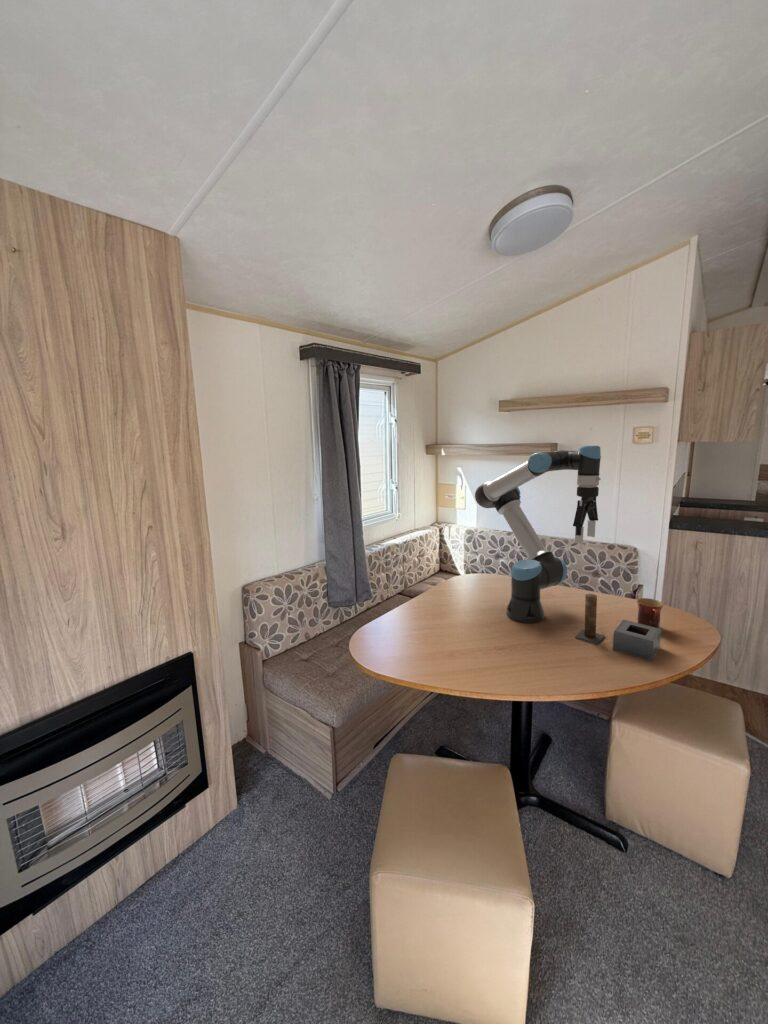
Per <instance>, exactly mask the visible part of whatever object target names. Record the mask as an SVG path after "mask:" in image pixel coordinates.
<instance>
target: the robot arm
mask: <svg viewBox="0 0 768 1024" xmlns="http://www.w3.org/2000/svg"><path fill="white" fill-rule="evenodd" d="M601 451H602V450H601V447H600V445H593V444H592V445H580V446H579V448H578V450H563V449H559V450H555V451H545V452H544V451H539V452H535V453H533V454H531V455H530V456H529V458H528V460H527V461H524V462H523V463H521V464H520V465H518V466H517V467H515V468H513V469H511V470H509V471H508V472H506V473H504V474H503V475H501V476H499V477H497V478H496V479H494V480H492V481H491V480H488V481H485V482H484V483H482V484H481V485H479V486H478V487H477V488H476V490H475V491H474V492H475V493H474V498H475V502H476V503H477V504H478V505H479V506H480V507H481V508H484V509H495V510H496V511H497V513H498V515H503V517H504V519H505V521H506V522H507V524H508V525H509V528H510V529H511V531H512V533H513V535H514V536H515V538H516V540H517V542H518V543H519V544H520V547H521V549H522V550H523V552H524V553H525V555H526V557H527V559H520V560H518V561H516V562H514V563H513V565H512V567H511V573H510V575H511V585H510V586H511V590H510V592H511V596H510V599H509V602H508V604H507V607H506V616H507V617H508V618H510V619H511V620H513V621H516V622H519V623H526V624H527V623H528V624H534V623H539V622H541V621H544V618H545V611H544V608H543V604H542V602H541V601H542V600H541V590H543V589H547V588H551V587H554V586H557V585H559V584H561V583H563V582H564V581H565V580H566V578H567V575H568V568H567V564H566V562H565V561H564V560H563V559H562V558H559V557H558V556H555V555H554V554H553V552H552V551H551V550H548V549H546V547H545V546H544V544H543V542H542V540H541V539H540V537H539V536H538V533H537V532H536V531H535V528H533V526H532V523H531V522H530V521H529V519H528V517H527V516H526V514H525V512H524V510H523V509H522V508H521V503H522V502H521V491H520V489H519V487H520V486H523V485H524V484H527V483H528V482H530V481H531V480H534V479H535V478H537V477H539V476H542V475H543V474H546V473H548V472H553V471H554V472H555V471H564V470H569V471H571V470H572V471H573V470H574V471H577V476H576V477H577V479H576V481H577V482H576V485H577V487H576V496H577V497H579V498H581V499H580V500H577V504H576V505H577V506H576V511H575V515H574V518H573V524H572V527H575V531H574V543H575V544H580V545H583V544H584V532H585V531H584V530H585V529H584V527H585V526H584V523H585V520H586V516H587V517H588V520H587V529H586V530H587V531H586V537H590V538H595V536H596V523H597V522H598V521H599V516H598V515H599V514H598V505H597V497H599V490H600V489H599V487H598V486H599V484H600V481H601V477H600V469H601V468H600V467H601V458H602V456H601ZM596 521H597V522H596Z"/></svg>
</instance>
